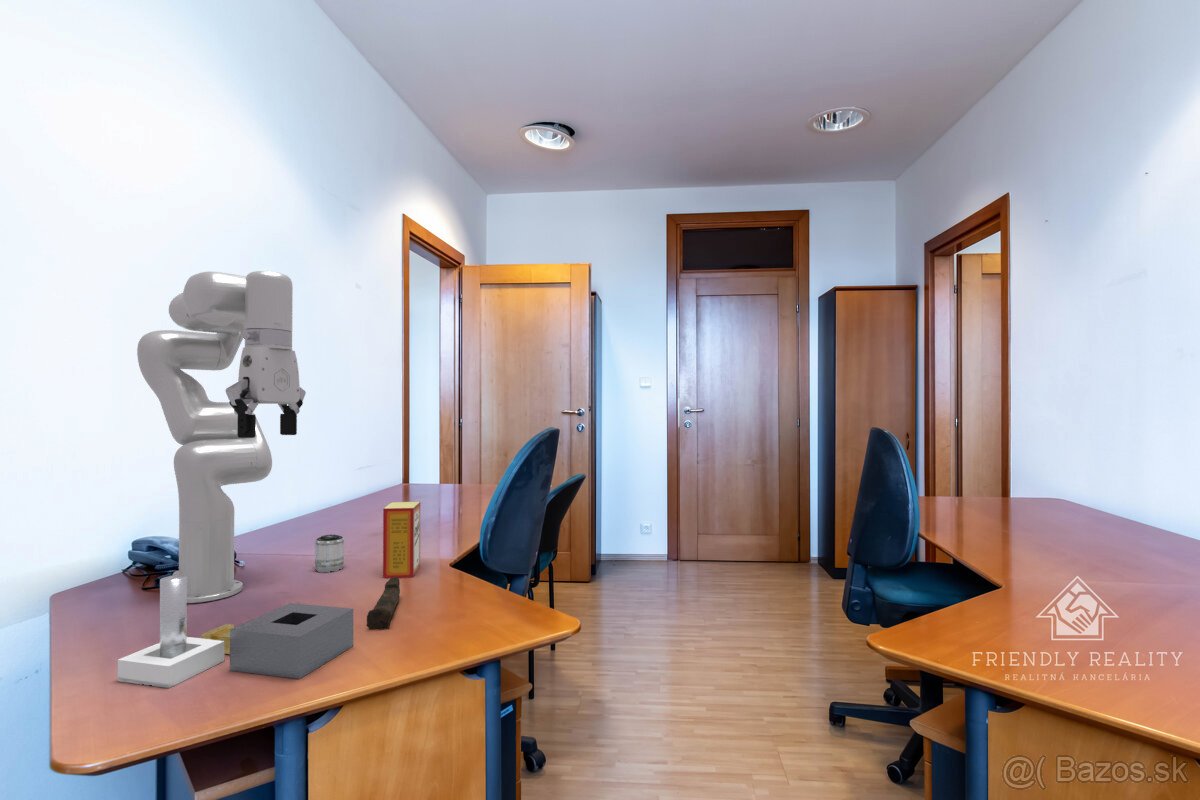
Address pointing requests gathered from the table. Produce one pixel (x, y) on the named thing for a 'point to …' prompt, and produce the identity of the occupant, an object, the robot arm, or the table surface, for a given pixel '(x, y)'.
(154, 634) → the table surface
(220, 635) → the key
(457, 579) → the table surface
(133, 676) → the tray
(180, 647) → the grey cylindrical peg
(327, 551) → the camera lens
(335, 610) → the socket
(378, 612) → the hand tool
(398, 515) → the baking soda box
